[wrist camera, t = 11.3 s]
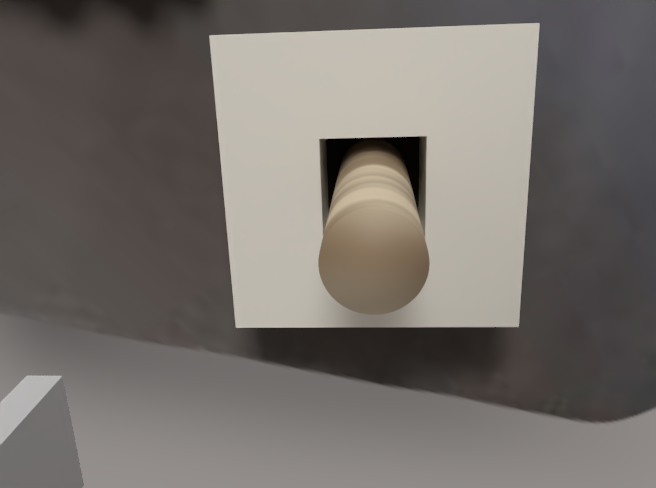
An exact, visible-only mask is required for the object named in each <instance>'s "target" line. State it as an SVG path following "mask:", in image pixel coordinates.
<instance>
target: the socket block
mask: <svg viewBox="0 0 656 488" xmlns="http://www.w3.org/2000/svg"><path fill="white" fill-rule="evenodd" d="M539 25H540V23H526V24H499V25H473V26H446V27H419V28H393V29H366V30H339V31H312V32H286V33H259V34H232V35H209V37H210V48H211V59H212V70H213V81H214V92H215V103H216V114H217V125H218V136H219V147H220V158H221V170H222V181H223V192H224V203H225V214H226V225H227V236H228V247H229V258H230V269H231V280H232V291H233V302H234V313H235V324H236V328H318V327H519V315H520V301H521V286H522V272H523V257H524V243H525V228H526V214H527V199H528V185H529V170H530V156H531V141H532V127H533V112H534V98H535V83H536V69H537V54H538V40H539ZM416 136H419V211H418V214H419V218H420V221H421V225H422V229H423V233H424V237H425V241H426V245H427V249H428V253H429V262H430V265H429V273H428V277H427V280H426V282H425V284H424V286H423V288H422V290H421V291H420V293H419V294H418V295H417V296H416V297H415V298H414V299H413V300H412V301H411V302H410V303H409V304H407V305H406V306H404V307H402V308H401V309H398V310H396V311H393V312H390V313H386V314H380V315H368V314H362V313H358V312H354V311H352V310H350V309H347V308H346V307H344V306H342V305H341V304H339V303H338V302H337V301H336V300H335V299H334V298H333V297H332V296H331V295H330V294H329V293H328V291H327V290H326V288H325V286H324V285H323V282H322V280H321V277H320V273H319V267H318V258H319V252H320V248H321V243H322V239H323V235H324V231H325V227H326V222H327V218H328V214H329V201H328V173H327V145H326V139H335V138H375V137H416Z"/></svg>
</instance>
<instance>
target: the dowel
mask: <svg viewBox="0 0 656 488" xmlns="http://www.w3.org/2000/svg"><path fill="white" fill-rule="evenodd" d="M429 265H430V262H429V253H428V249H427V245H426V241H425V237H424V233H423V229H422V225H421V221H420V218H419V214H418V210H417V206H416V202H415V198H414V194H413V190H412V187H411V183H410V179H409V175H408V171H407V167H406V163H405V160H404V157H403V155H402V154H401V152H400V151H399V150H398V148H397V147H396V146H394V145H393V144H392V143H390V142H388V141H386V140H383V139H379V138H367V139H363V140H361V141H358V142H356V143H355V144H353V145H352V146H351V147H350V148H349V149H348V150H347V151H346V153H345V154H344V156H343V158H342V161H341V164H340V168H339V172H338V176H337V181H336V185H335V189H334V193H333V197H332V202H331V206H330V210H329V214H328V218H327V222H326V227H325V231H324V235H323V239H322V243H321V248H320V252H319V258H318V267H319V273H320V277H321V280H322V282H323V285H324V286H325V288H326V290H327V291H328V293H329V294H330V295H331V296H332V297H333V298H334V299H335V300H336V301H337V302H338V303H339V304H341V305H342V306H344V307H346V308H347V309H350V310H352V311H354V312H358V313H362V314H368V315H380V314H386V313H390V312H393V311H396V310H398V309H401V308H402V307H404V306H406V305H407V304H409V303H410V302H411V301H412V300H413V299H414V298H415V297H416V296H417V295H418V294H419V293H420V291H421V290H422V288H423V286H424V284H425V282H426V280H427V277H428V273H429Z"/></svg>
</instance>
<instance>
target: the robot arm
mask: <svg viewBox="0 0 656 488" xmlns="http://www.w3.org/2000/svg"><path fill="white" fill-rule="evenodd" d="M83 485H84V484H83V478H82V473H81V469H80V463H79V458H78V453H77V448H76V443H75V437H74V432H73V427H72V422H71V417H70V412H69V407H68V403H67V397H66V392H65V387H64V381H63V377H62V376H26V378H25V379H23V380H22V381H21V382H20V383H19V384H18V385H17V386H16V387H15V388H14V389H13V390H12V391H11V392H10V393H9V394H8V395H7V396H6V397H5V398H4V399H3V400H2V401H1V402H0V488H82V487H83Z"/></svg>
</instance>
